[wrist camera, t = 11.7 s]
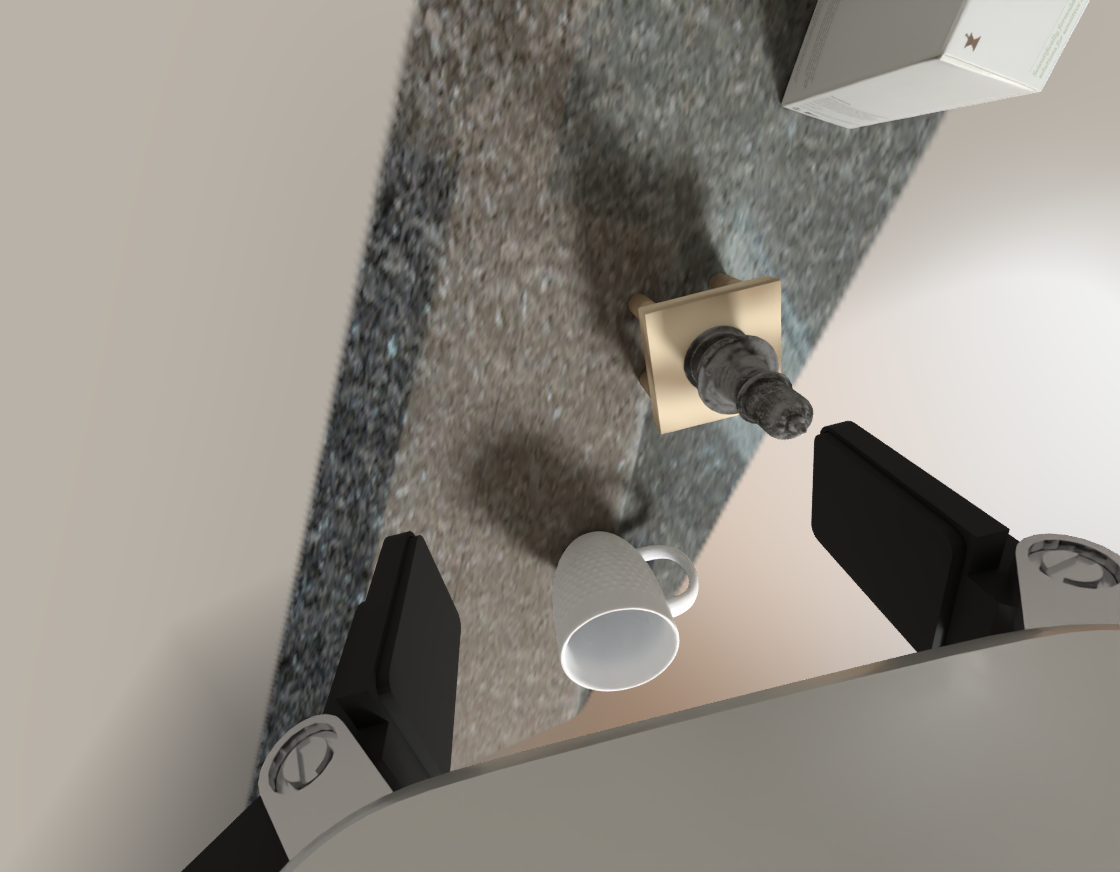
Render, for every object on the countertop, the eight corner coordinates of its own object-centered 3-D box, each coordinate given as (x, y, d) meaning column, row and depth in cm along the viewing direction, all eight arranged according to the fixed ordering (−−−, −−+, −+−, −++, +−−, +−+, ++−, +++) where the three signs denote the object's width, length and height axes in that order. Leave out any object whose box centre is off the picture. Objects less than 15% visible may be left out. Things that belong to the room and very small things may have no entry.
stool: (619, 291, 42) (644, 314, 35) (733, 263, 42) (780, 280, 35) (636, 395, 47) (661, 434, 40) (738, 370, 47) (781, 404, 40)
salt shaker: (675, 333, 36) (751, 398, 26) (753, 312, 36) (860, 368, 26) (684, 403, 39) (755, 488, 28) (756, 384, 39) (854, 462, 28)
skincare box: (846, 131, 39) (1040, 105, 25) (772, 105, 37) (934, 63, 23) (904, -3, 35) (1167, -120, 21) (824, -37, 34) (1051, -185, 20)
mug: (664, 489, 53) (711, 577, 41) (683, 562, 58) (730, 658, 46) (532, 533, 53) (542, 631, 42) (562, 601, 58) (579, 705, 47)
